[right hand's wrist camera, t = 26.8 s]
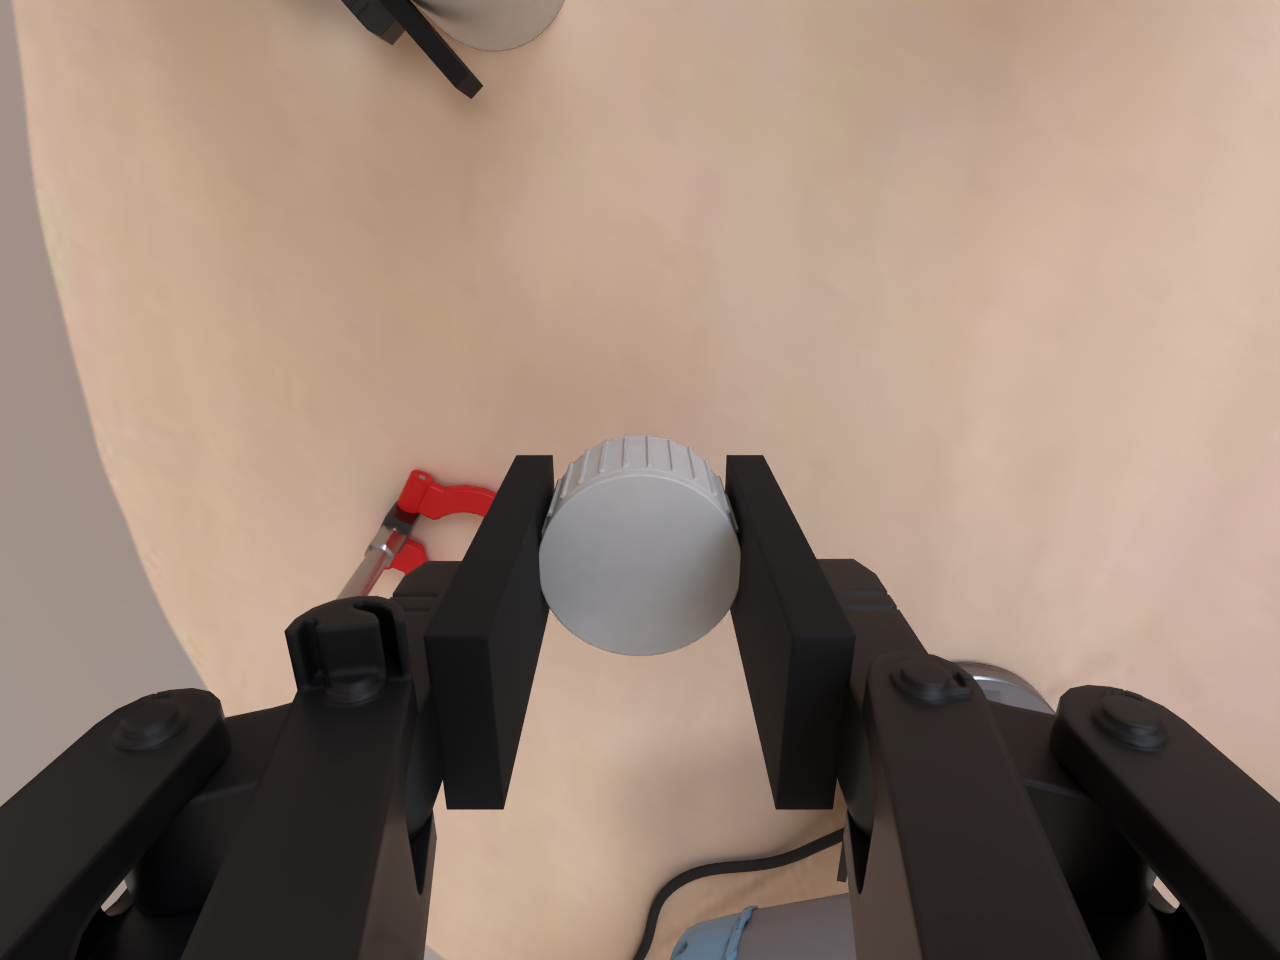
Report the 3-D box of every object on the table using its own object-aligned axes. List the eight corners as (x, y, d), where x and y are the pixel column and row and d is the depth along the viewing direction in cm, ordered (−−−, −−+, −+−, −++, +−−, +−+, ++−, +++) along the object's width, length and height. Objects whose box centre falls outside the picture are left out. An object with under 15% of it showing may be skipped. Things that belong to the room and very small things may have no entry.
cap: (747, 446, 14) (766, 488, 12) (711, 607, 15) (722, 670, 13) (561, 419, 14) (546, 456, 11) (541, 583, 15) (524, 645, 13)
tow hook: (559, 519, 42) (419, 452, 40) (539, 645, 30) (338, 560, 28) (502, 620, 45) (368, 562, 43) (463, 772, 33) (275, 702, 31)
